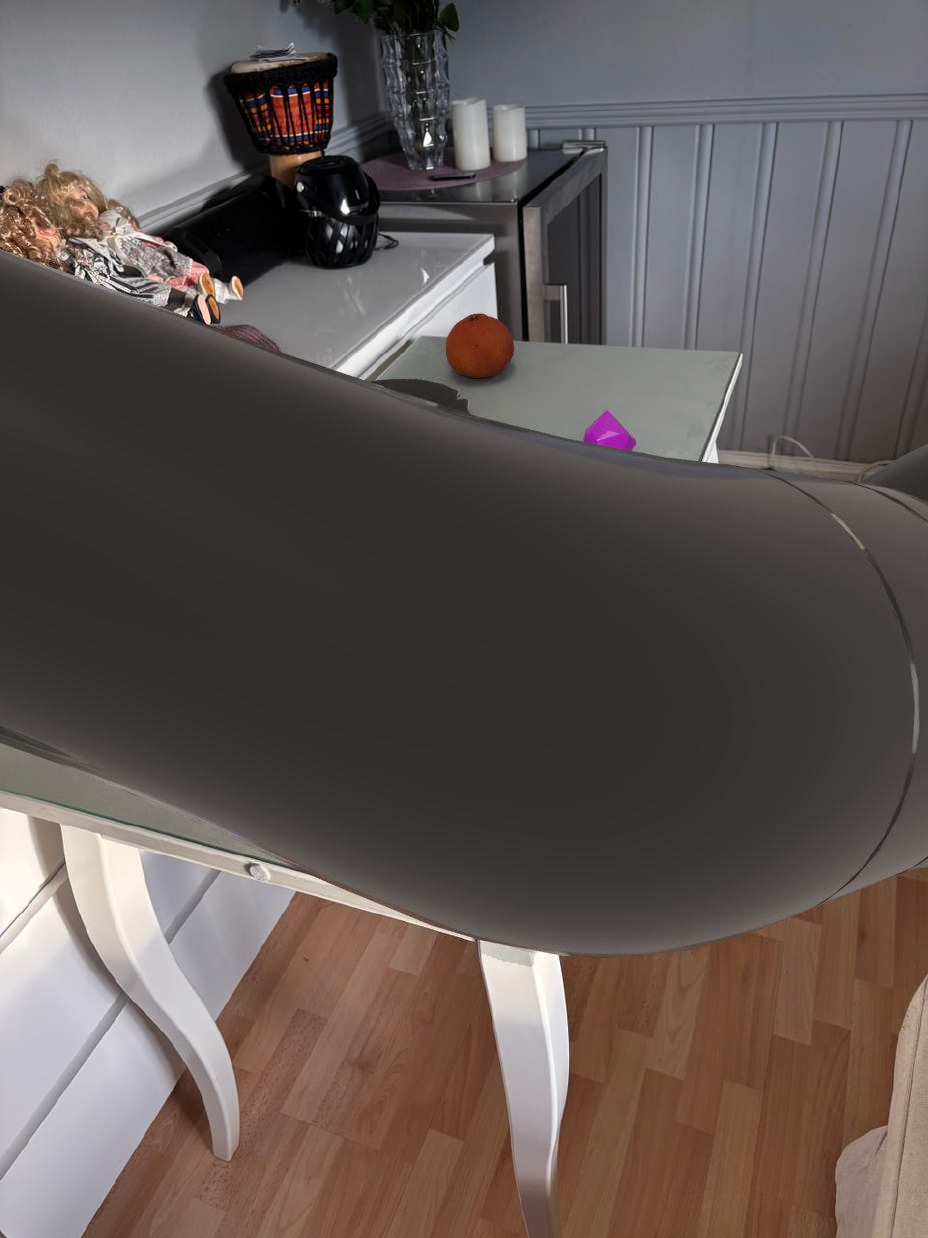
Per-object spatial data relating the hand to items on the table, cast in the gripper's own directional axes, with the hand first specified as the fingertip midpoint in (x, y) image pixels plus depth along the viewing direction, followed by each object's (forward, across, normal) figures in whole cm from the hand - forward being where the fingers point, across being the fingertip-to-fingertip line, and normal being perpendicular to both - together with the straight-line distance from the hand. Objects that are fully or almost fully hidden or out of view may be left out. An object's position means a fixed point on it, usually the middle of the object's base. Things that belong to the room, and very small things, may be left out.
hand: (503, 752), depth 52 cm
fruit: (+57, +44, +38) cm, 81 cm away
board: (+50, +23, +32) cm, 64 cm away
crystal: (+36, +41, +18) cm, 58 cm away
